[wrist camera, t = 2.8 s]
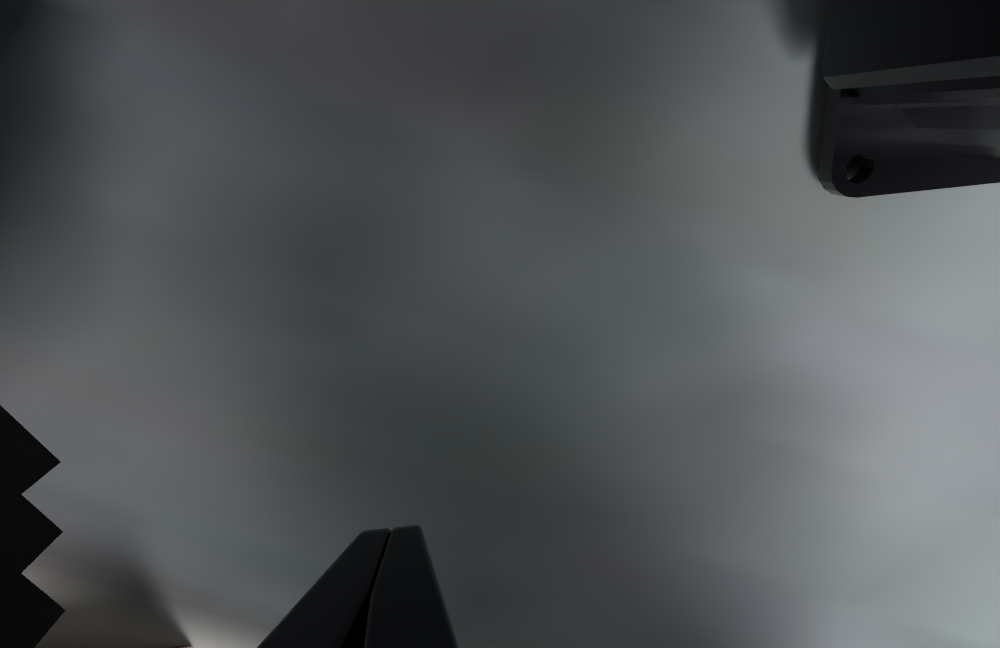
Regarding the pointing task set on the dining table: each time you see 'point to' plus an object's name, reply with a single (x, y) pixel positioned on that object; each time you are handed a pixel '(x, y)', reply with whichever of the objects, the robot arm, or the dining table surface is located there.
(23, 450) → the security camera
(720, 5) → the dining table surface
